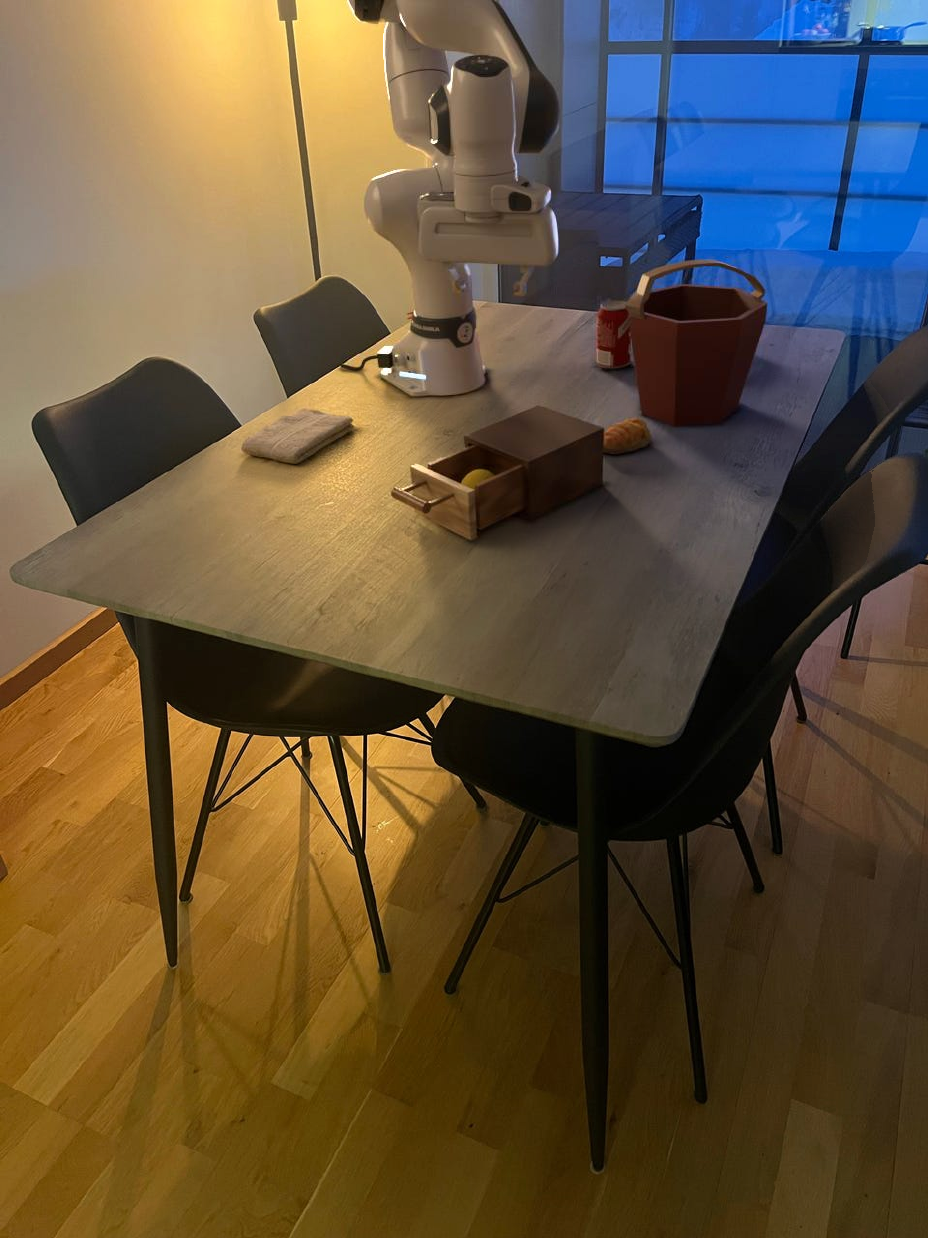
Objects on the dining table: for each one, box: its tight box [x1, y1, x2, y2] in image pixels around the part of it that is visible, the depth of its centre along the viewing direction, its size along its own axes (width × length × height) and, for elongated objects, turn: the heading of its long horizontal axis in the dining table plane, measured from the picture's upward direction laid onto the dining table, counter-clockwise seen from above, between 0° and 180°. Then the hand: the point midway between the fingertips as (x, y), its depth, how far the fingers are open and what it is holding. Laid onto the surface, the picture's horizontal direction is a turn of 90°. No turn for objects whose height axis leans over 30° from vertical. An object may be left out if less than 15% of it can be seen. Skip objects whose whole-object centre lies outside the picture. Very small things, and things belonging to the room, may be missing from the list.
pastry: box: [603, 417, 653, 455], centre depth 155 cm, size 9×7×4 cm
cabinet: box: [463, 404, 605, 521], centre depth 143 cm, size 16×14×9 cm
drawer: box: [390, 445, 526, 541], centre depth 135 cm, size 20×13×7 cm, turn 131°
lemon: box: [461, 469, 495, 510], centre depth 135 cm, size 6×6×8 cm
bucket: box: [625, 259, 769, 427], centre depth 162 cm, size 24×22×25 cm
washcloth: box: [241, 408, 355, 465], centre depth 165 cm, size 12×18×3 cm, turn 150°
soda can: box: [595, 300, 632, 370], centre depth 185 cm, size 7×7×12 cm
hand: (489, 293), depth 139 cm, fingers open, 8 cm apart
